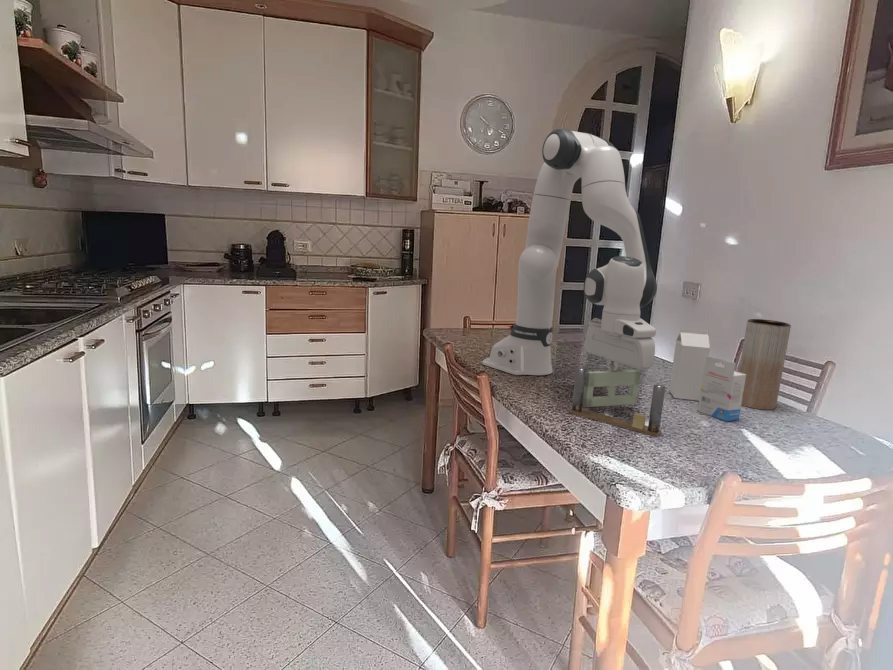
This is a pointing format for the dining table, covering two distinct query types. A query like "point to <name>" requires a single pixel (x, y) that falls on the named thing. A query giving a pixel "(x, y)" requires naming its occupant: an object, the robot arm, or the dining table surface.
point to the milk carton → (689, 364)
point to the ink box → (721, 390)
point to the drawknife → (636, 425)
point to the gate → (611, 387)
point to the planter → (763, 362)
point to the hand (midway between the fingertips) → (613, 378)
